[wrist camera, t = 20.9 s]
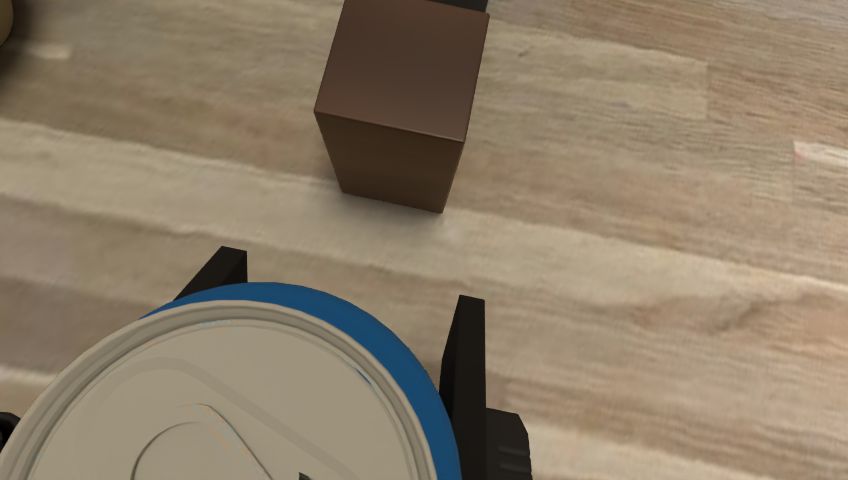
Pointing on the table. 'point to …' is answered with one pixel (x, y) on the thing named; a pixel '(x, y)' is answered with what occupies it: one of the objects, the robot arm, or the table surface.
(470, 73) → the block
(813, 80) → the table surface
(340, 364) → the beverage can
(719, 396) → the table surface
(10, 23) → the bowl
